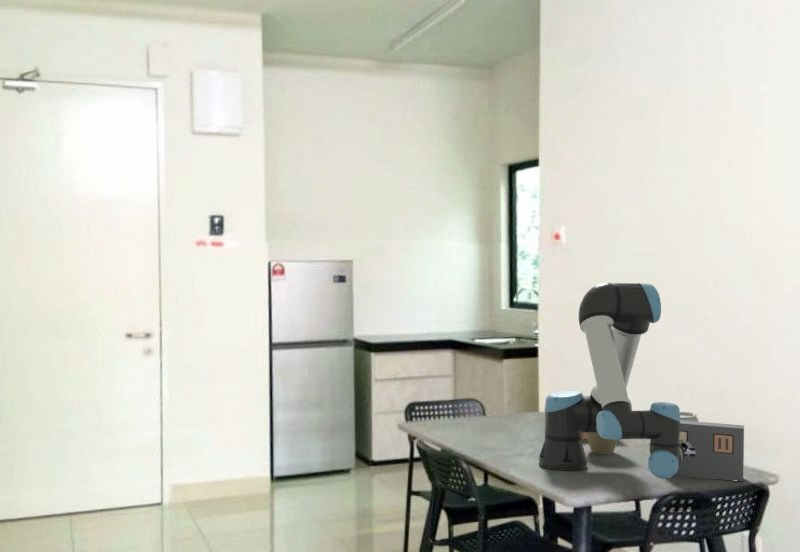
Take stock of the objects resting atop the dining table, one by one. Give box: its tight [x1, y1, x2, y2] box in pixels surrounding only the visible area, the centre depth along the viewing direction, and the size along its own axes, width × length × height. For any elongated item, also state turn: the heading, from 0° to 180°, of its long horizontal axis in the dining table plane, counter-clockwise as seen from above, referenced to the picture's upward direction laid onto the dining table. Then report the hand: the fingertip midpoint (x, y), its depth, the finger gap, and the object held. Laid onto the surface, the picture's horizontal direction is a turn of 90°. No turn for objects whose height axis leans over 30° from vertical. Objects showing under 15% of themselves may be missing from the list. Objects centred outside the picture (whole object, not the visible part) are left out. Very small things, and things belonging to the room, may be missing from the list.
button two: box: [714, 434, 733, 453], centre depth 249 cm, size 3×5×5 cm, turn 65°
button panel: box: [674, 420, 745, 482], centre depth 253 cm, size 6×24×16 cm, turn 66°
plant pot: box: [585, 432, 619, 455], centre depth 286 cm, size 15×15×16 cm
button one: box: [680, 431, 687, 442], centre depth 254 cm, size 3×5×5 cm, turn 66°
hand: (678, 440), depth 252 cm, fingers closed
